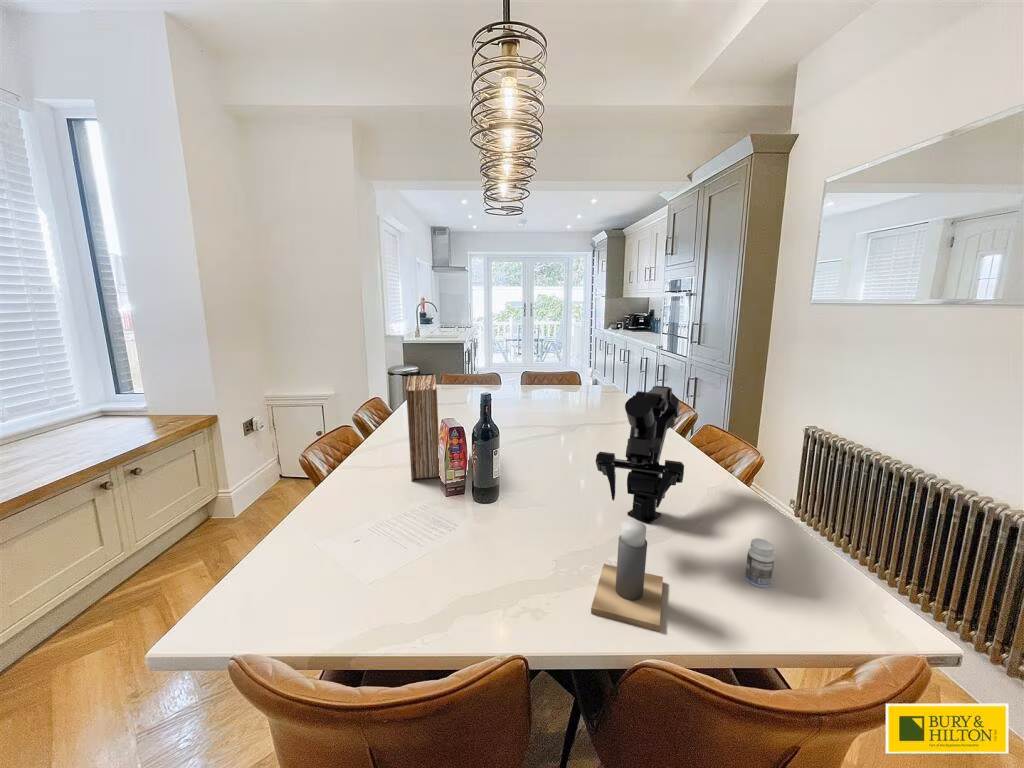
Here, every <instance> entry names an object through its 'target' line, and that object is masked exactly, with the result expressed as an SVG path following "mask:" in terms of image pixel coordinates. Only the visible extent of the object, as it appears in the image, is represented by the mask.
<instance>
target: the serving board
mask: <svg viewBox="0 0 1024 768" xmlns="http://www.w3.org/2000/svg"><path fill="white" fill-rule="evenodd" d="M616 572H617V565H616V566H615V565H612V564H606V563H604V564H603V565H602V568H601V572H600V576H599V579H598V583H597V586H596V589H595V593H594V595H593V596H594V597H593V600H592V603H591V604H592V605H591V606H590V607H591V608H590V614H592V615H596V616H600V617H602V618H607V619H611V620H614V621H618V622H623V623H626V624H629V625H633V626H638V627H640V628H645V629H649V630H651V631H655V632H660V626H661V611H662V609H661V608H662V599H663V598H662V597H663V585H664V584H663V583H664V582H663V581H664V580H663V579H664V576H660V575H657V574H652V573H647V572H645V577H644V588H643V596H642V598H640V599H639V600H635V601H631V600H626V599H624V598H622V597H620V596H619V595H618V594H617V593H616V590H615V587H616Z"/></svg>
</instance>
